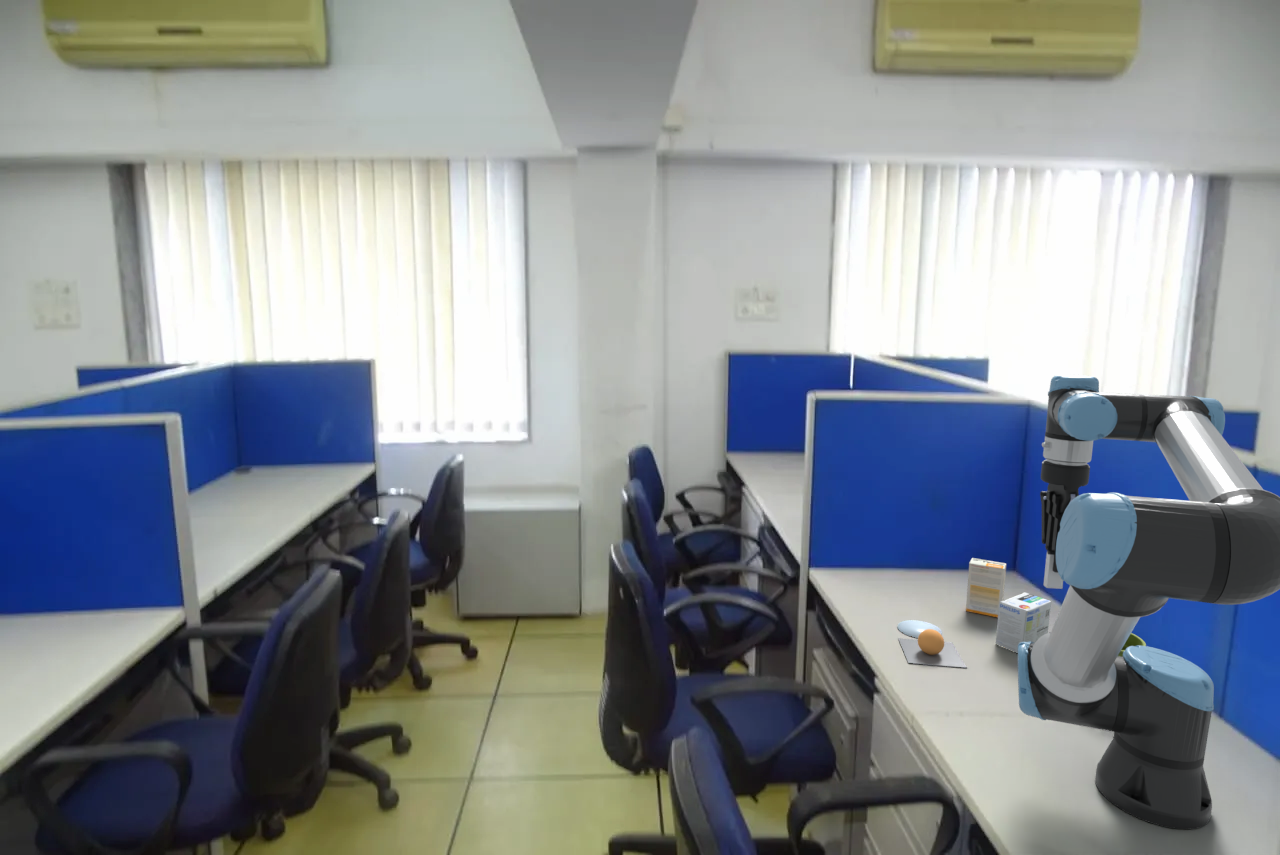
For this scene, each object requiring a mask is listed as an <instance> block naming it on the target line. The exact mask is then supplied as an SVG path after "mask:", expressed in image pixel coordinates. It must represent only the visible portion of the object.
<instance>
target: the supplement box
mask: <svg viewBox="0 0 1280 855" xmlns="http://www.w3.org/2000/svg"><path fill="white" fill-rule="evenodd" d="M1006 573H1007V563H1005V562H999V561H993V560H987V559H981V558H975V557H972V558H971V559H970V561H969V562H968V574H967V575H968V576H967V589H966V591H967V592H966V605H965V611H966V612H968V613H969V612H970V613H974V614H979V615H984V616H990V617H994V618H998V611H999V602H1000V601H1004V600H1005V599H1004V598H1005V597H1004V596H1005V587H1006V586H1005V585H1006V584H1005V583H1006Z"/></svg>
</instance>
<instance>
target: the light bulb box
mask: <svg viewBox="0 0 1280 855" xmlns="http://www.w3.org/2000/svg"><path fill="white" fill-rule="evenodd" d="M1051 608H1052V601H1051V600H1049V599H1046V598H1043V597H1041V596H1037V595H1034V594H1031V593H1028V592H1025V591H1024V592H1021V593H1019V594H1017V595H1014V596H1012V597H1009V598H1006V599H1004V600H1003V601H1000V602H999V611H998V617H997V621H996V622H997V624H996V632H995V633H996V635H995V636H996V637H995V643H996V644H998V645H1000V646H1003V647H1005V648H1007V649H1010V650H1012V651H1014V652H1016V653H1018V644H1019V643H1020V642H1029V641H1031V642H1034V643H1035V642H1036V641H1037V640H1038V639H1039V638H1040V637H1041V636H1043V635H1044V634H1047V633H1049V626H1050V617H1051ZM1000 646H999V647H1000ZM1007 649H1006V650H1007ZM1014 652H1013V653H1014ZM1016 653H1015V654H1016Z"/></svg>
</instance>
